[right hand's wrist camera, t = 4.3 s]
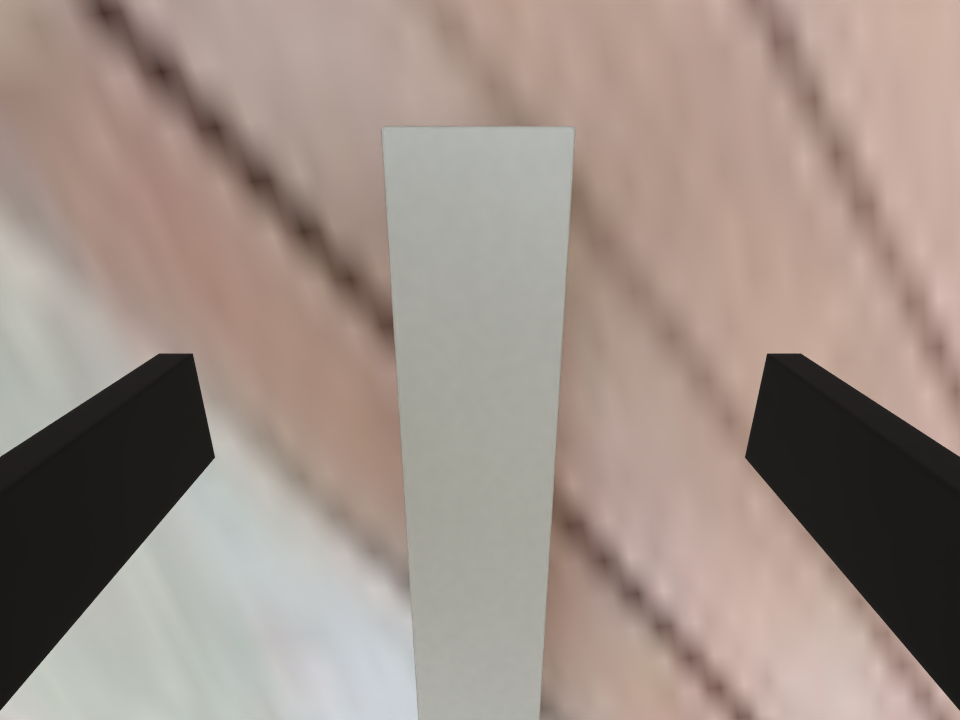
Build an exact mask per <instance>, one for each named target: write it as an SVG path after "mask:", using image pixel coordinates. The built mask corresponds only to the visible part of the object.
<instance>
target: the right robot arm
mask: <svg viewBox="0 0 960 720" xmlns="http://www.w3.org/2000/svg"><path fill="white" fill-rule="evenodd" d="M214 458H215V455H214V451H213V446H212V441H211V437H210V432H209V427H208V423H207V418H206V413H205V409H204V404H203V399H202V395H201V390H200V385H199V381H198V376H197V371H196V367H195V362H194V357H193V354H158V355H156V356H155V357H153V358H152V359H150V360H149V361H147V362H146V363H144V364H143V365H141V366H139V367H138V368H136V369H135V370H133V371H132V372H130V373H129V374H127V375H126V376H124V377H123V378H121V379H119V380H118V381H116V382H115V383H113V384H112V385H110V386H109V387H107V388H106V389H104V390H103V391H101V392H99V393H98V394H96V395H95V396H93V397H92V398H90V399H89V400H87V401H86V402H84V403H83V404H81V405H79V406H78V407H76V408H75V409H73V410H72V411H70V412H69V413H67V414H66V415H64V416H63V417H61V418H59V419H58V420H56V421H55V422H53V423H52V424H50V425H49V426H47V427H46V428H44V429H43V430H41V431H39V432H38V433H36V434H35V435H33V436H32V437H30V438H29V439H27V440H26V441H24V442H23V443H21V444H19V445H18V446H16V447H15V448H13V449H12V450H10V451H9V452H7V453H6V454H4V455H3V456H1V457H0V710H1V709H2V708H3V707H4V706H5V704H6V703H7V702H8V701H9V700H10V698H11V697H12V696H13V695H14V694H15V693H16V691H17V690H18V689H19V688H20V687H21V685H22V684H23V683H24V682H25V681H26V680H27V678H28V677H29V676H30V675H31V674H32V673H33V671H34V670H35V669H36V668H37V667H38V665H39V664H40V663H41V662H42V661H43V660H44V658H45V657H46V656H47V655H48V654H49V652H50V651H51V650H52V649H53V648H54V647H55V645H56V644H57V643H58V642H59V641H60V640H61V638H62V637H63V636H64V635H65V634H66V632H67V631H68V630H69V629H70V628H71V627H72V625H73V624H74V623H75V622H76V621H77V619H78V618H79V617H80V616H81V615H82V614H83V612H84V611H85V610H86V609H87V608H88V607H89V605H90V604H91V603H92V602H93V601H94V599H95V598H96V597H97V596H98V595H99V594H100V592H101V591H102V590H103V589H104V588H105V586H106V585H107V584H108V583H109V582H110V581H111V579H112V578H113V577H114V576H115V575H116V574H117V572H118V571H119V570H120V569H121V568H122V566H123V565H124V564H125V563H126V562H127V561H128V559H129V558H130V557H131V556H132V555H133V553H134V552H135V551H136V550H137V549H138V548H139V546H140V545H141V544H142V543H143V542H144V541H145V539H146V538H147V537H148V536H149V535H150V533H151V532H152V531H153V530H154V529H155V528H156V526H157V525H158V524H159V523H160V522H161V520H162V519H163V518H164V517H165V516H166V515H167V513H168V512H169V511H170V510H171V509H172V508H173V506H174V505H175V504H176V503H177V502H178V500H179V499H180V498H181V497H182V496H183V495H184V493H185V492H186V491H187V490H188V489H189V487H190V486H191V485H192V484H193V483H194V482H195V480H196V479H197V478H198V477H199V476H200V475H201V473H202V472H203V471H204V470H205V469H206V467H207V466H208V465H209V464H210V463H211V462H212V460H213V459H214ZM745 458H746V459H747V460H748V462H749V463H750V464H751V465H752V466H753V467H754V469H755V470H756V471H757V472H758V473H759V475H760V476H761V477H762V478H763V479H764V480H765V482H766V483H767V484H768V485H769V486H770V487H771V489H772V490H773V491H774V492H775V493H776V495H777V496H778V497H779V498H780V499H781V500H782V502H783V503H784V504H785V505H786V506H787V508H788V509H789V510H790V511H791V512H792V513H793V515H794V516H795V517H796V518H797V519H798V520H799V522H800V523H801V524H802V525H803V526H804V528H805V529H806V530H807V531H808V532H809V533H810V535H811V536H812V537H813V538H814V539H815V541H816V542H817V543H818V544H819V545H820V546H821V548H822V549H823V550H824V551H825V552H826V553H827V555H828V556H829V557H830V558H831V559H832V561H833V562H834V563H835V564H836V565H837V566H838V568H839V569H840V570H841V571H842V572H843V574H844V575H845V576H846V577H847V578H848V579H849V581H850V582H851V583H852V584H853V585H854V586H855V588H856V589H857V590H858V591H859V592H860V594H861V595H862V596H863V597H864V598H865V599H866V601H867V602H868V603H869V604H870V605H871V607H872V608H873V609H874V610H875V611H876V612H877V614H878V615H879V616H880V617H881V618H882V619H883V621H884V622H885V623H886V624H887V625H888V627H889V628H890V629H891V630H892V631H893V632H894V634H895V635H896V636H897V637H898V638H899V640H900V641H901V642H902V643H903V644H904V645H905V647H906V648H907V649H908V650H909V651H910V652H911V654H912V655H913V656H914V657H915V658H916V660H917V661H918V662H919V663H920V664H921V665H922V667H923V668H924V669H925V670H926V671H927V673H928V674H929V675H930V676H931V677H932V678H933V680H934V681H935V682H936V683H937V684H938V685H939V687H940V688H941V689H942V690H943V691H944V693H945V694H946V695H947V696H948V697H949V698H950V700H951V701H952V702H953V703H954V704H955V706H956V707H957V708H958V709H959V710H960V457H959V456H957V455H956V454H954V453H953V452H951V451H950V450H948V449H947V448H945V447H944V446H942V445H941V444H939V443H937V442H936V441H934V440H933V439H931V438H930V437H928V436H927V435H925V434H924V433H922V432H921V431H919V430H917V429H916V428H914V427H913V426H911V425H910V424H908V423H907V422H905V421H904V420H902V419H901V418H899V417H897V416H896V415H894V414H893V413H891V412H890V411H888V410H887V409H885V408H884V407H882V406H881V405H879V404H877V403H876V402H874V401H873V400H871V399H870V398H868V397H867V396H865V395H864V394H862V393H861V392H859V391H857V390H856V389H854V388H853V387H851V386H850V385H848V384H847V383H845V382H844V381H842V380H841V379H839V378H837V377H836V376H834V375H833V374H831V373H830V372H828V371H827V370H825V369H824V368H822V367H821V366H819V365H817V364H816V363H814V362H813V361H811V360H810V359H808V358H807V357H805V356H804V355H802V354H767V357H766V362H765V367H764V371H763V376H762V381H761V385H760V390H759V395H758V399H757V404H756V409H755V413H754V418H753V423H752V427H751V432H750V437H749V441H748V446H747V451H746V455H745Z"/></svg>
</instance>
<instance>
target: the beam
mask: <svg viewBox="0 0 960 720" xmlns="http://www.w3.org/2000/svg"><path fill="white" fill-rule="evenodd" d="M575 131H576V129H575V127H573V126H383V127H382V129H381V135H382V151H383V167H384V182H385V198H386V214H387V230H388V246H389V262H390V278H391V293H392V309H393V325H394V341H395V357H396V373H397V389H398V404H399V420H400V436H401V452H402V468H403V484H404V500H405V515H406V531H407V547H408V563H409V579H410V595H411V611H412V626H413V642H414V658H415V674H416V690H417V706H418V720H540V704H541V688H542V671H543V655H544V638H545V622H546V606H547V589H548V573H549V557H550V540H551V524H552V508H553V491H554V475H555V458H556V442H557V426H558V409H559V393H560V377H561V360H562V344H563V328H564V311H565V295H566V278H567V262H568V246H569V229H570V213H571V197H572V180H573V164H574V148H575Z"/></svg>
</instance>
